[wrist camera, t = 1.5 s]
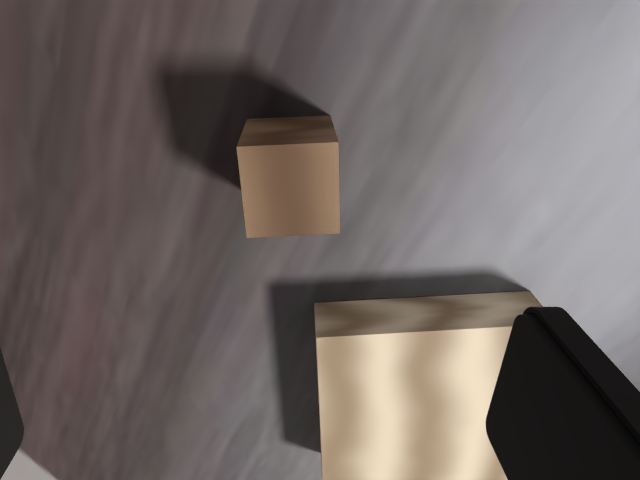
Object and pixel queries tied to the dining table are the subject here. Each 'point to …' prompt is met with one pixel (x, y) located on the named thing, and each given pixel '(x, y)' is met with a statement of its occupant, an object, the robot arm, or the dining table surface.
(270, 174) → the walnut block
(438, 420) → the birch base
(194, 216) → the dining table surface
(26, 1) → the dining table surface
